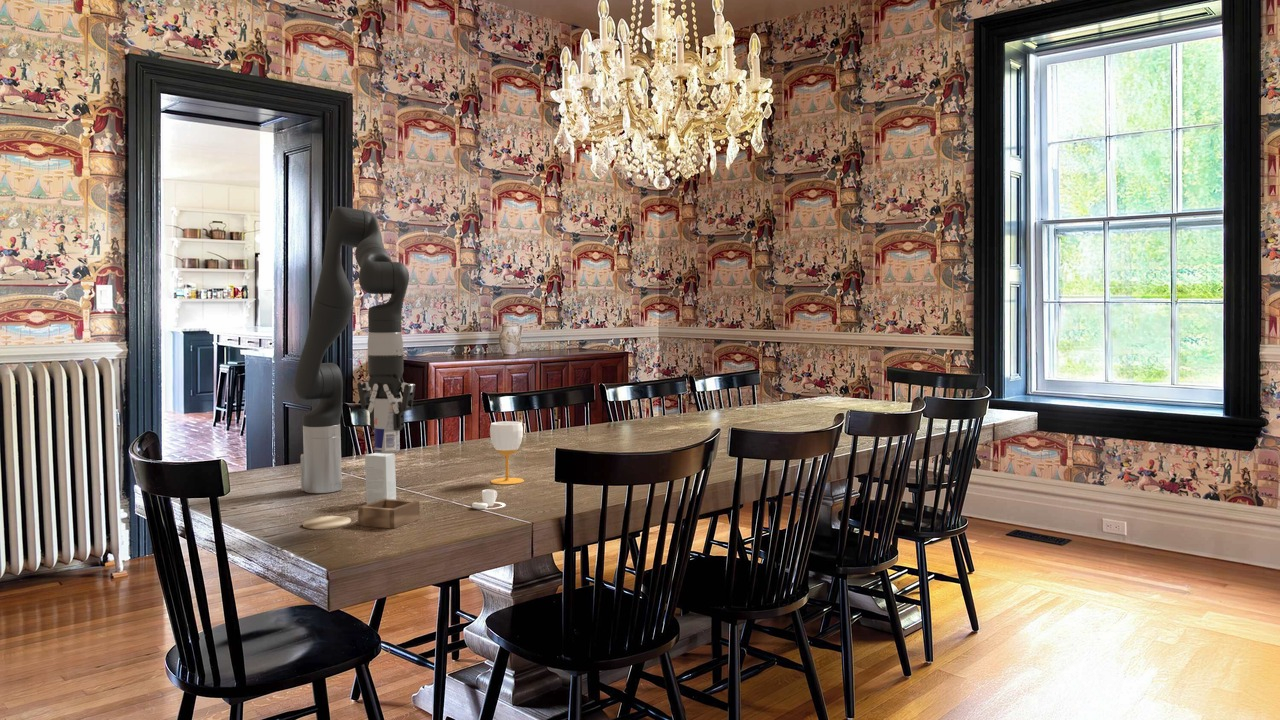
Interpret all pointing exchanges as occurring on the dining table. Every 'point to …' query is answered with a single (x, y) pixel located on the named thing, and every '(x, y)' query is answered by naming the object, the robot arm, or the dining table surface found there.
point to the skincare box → (380, 477)
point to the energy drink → (385, 427)
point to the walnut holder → (388, 513)
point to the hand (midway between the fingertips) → (387, 429)
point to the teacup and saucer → (487, 500)
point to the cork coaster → (326, 522)
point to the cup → (506, 445)
